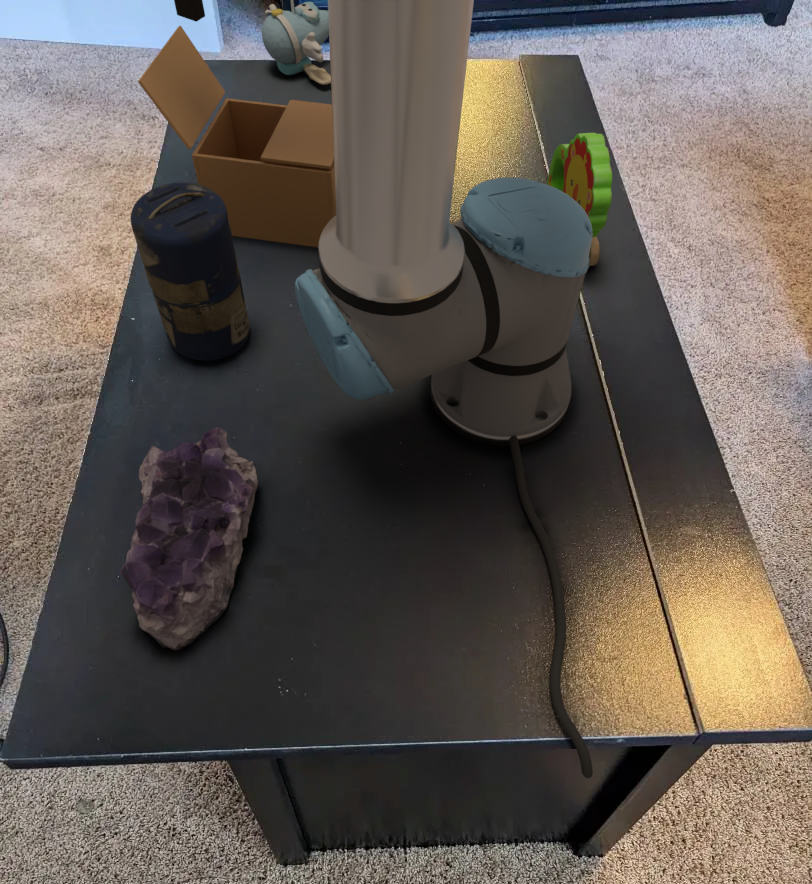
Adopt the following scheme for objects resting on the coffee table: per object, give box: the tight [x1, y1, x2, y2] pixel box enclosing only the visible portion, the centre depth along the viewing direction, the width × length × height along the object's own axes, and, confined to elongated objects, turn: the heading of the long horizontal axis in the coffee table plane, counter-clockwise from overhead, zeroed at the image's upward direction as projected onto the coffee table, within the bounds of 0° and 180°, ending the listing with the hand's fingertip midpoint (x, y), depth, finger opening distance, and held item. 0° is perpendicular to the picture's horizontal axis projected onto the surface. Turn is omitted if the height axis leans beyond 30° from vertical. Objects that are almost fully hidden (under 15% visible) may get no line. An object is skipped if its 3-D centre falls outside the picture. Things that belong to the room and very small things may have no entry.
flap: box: [137, 24, 226, 150], centre depth 90 cm, size 13×8×1 cm
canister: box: [130, 181, 251, 361], centre depth 81 cm, size 10×10×18 cm
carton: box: [191, 97, 336, 249], centre depth 97 cm, size 13×17×11 cm
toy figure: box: [261, 0, 331, 86], centre depth 118 cm, size 17×10×15 cm
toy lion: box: [546, 132, 613, 267], centre depth 92 cm, size 16×5×15 cm, turn 9°
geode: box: [119, 426, 259, 652], centre depth 69 cm, size 20×12×10 cm, turn 179°
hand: (191, 15), depth 83 cm, fingers closed
